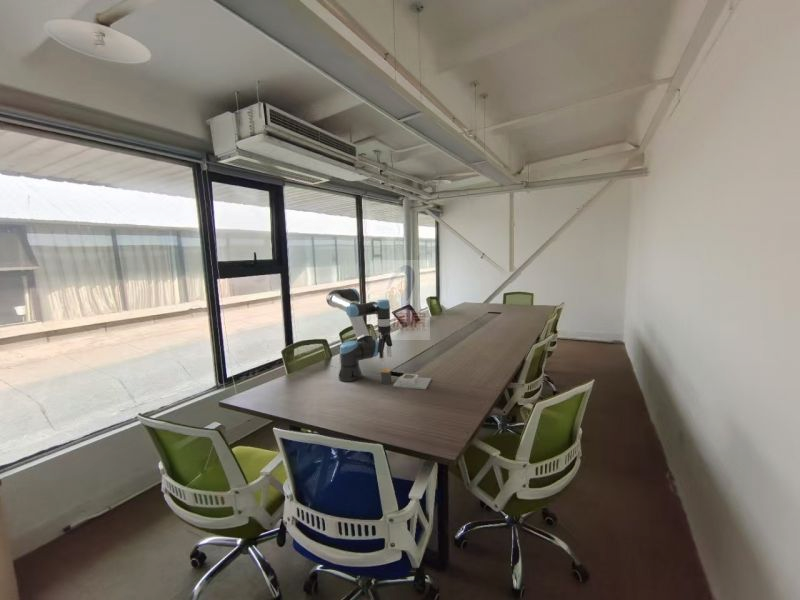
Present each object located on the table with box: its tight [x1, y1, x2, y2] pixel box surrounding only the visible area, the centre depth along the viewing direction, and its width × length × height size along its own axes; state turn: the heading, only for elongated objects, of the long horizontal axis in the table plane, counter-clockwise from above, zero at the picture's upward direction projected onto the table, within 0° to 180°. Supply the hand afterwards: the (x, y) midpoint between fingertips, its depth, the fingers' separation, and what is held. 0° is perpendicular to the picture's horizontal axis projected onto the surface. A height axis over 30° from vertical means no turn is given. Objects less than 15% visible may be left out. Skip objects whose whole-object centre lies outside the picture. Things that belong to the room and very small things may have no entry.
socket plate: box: [392, 373, 432, 390], centre depth 203 cm, size 20×16×4 cm
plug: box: [380, 368, 392, 385], centre depth 206 cm, size 5×4×8 cm
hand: (385, 359), depth 204 cm, fingers open, 13 cm apart
